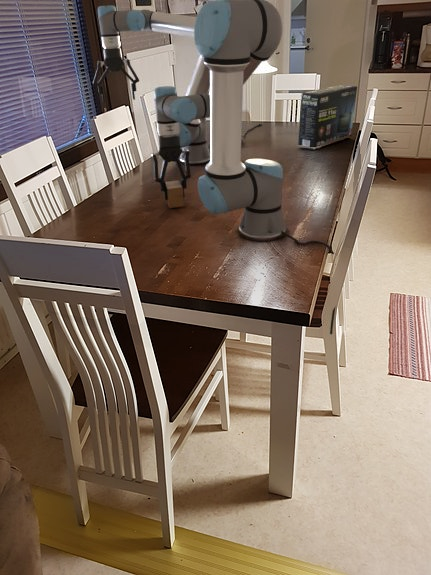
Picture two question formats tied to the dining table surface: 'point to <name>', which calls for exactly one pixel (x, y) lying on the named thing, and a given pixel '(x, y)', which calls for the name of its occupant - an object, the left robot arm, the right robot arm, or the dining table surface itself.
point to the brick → (174, 194)
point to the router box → (326, 115)
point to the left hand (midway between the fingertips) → (118, 100)
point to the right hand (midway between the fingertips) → (174, 198)
